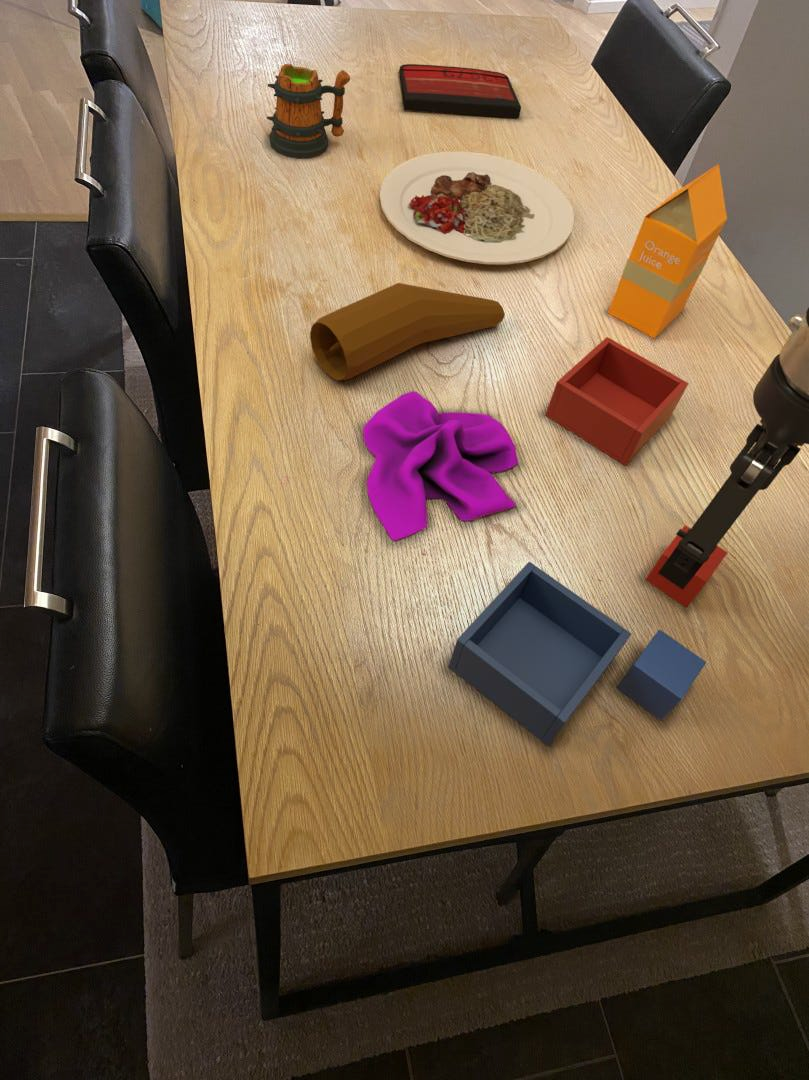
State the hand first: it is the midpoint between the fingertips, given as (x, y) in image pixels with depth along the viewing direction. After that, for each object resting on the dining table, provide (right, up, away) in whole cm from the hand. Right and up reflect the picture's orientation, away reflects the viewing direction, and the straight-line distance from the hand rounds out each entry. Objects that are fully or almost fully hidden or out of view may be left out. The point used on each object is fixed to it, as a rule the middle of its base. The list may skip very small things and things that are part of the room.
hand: (703, 536), depth 75 cm
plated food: (-19, +50, +43) cm, 68 cm away
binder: (-20, +82, +65) cm, 106 cm away
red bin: (-4, +15, +19) cm, 25 cm away
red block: (-1, -5, +6) cm, 7 cm away
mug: (-45, +65, +50) cm, 93 cm away
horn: (-29, +25, +24) cm, 45 cm away
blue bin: (-17, -12, -2) cm, 21 cm away
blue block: (-6, -14, -2) cm, 16 cm away
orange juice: (+4, +32, +33) cm, 46 cm away
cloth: (-26, +8, +12) cm, 29 cm away
